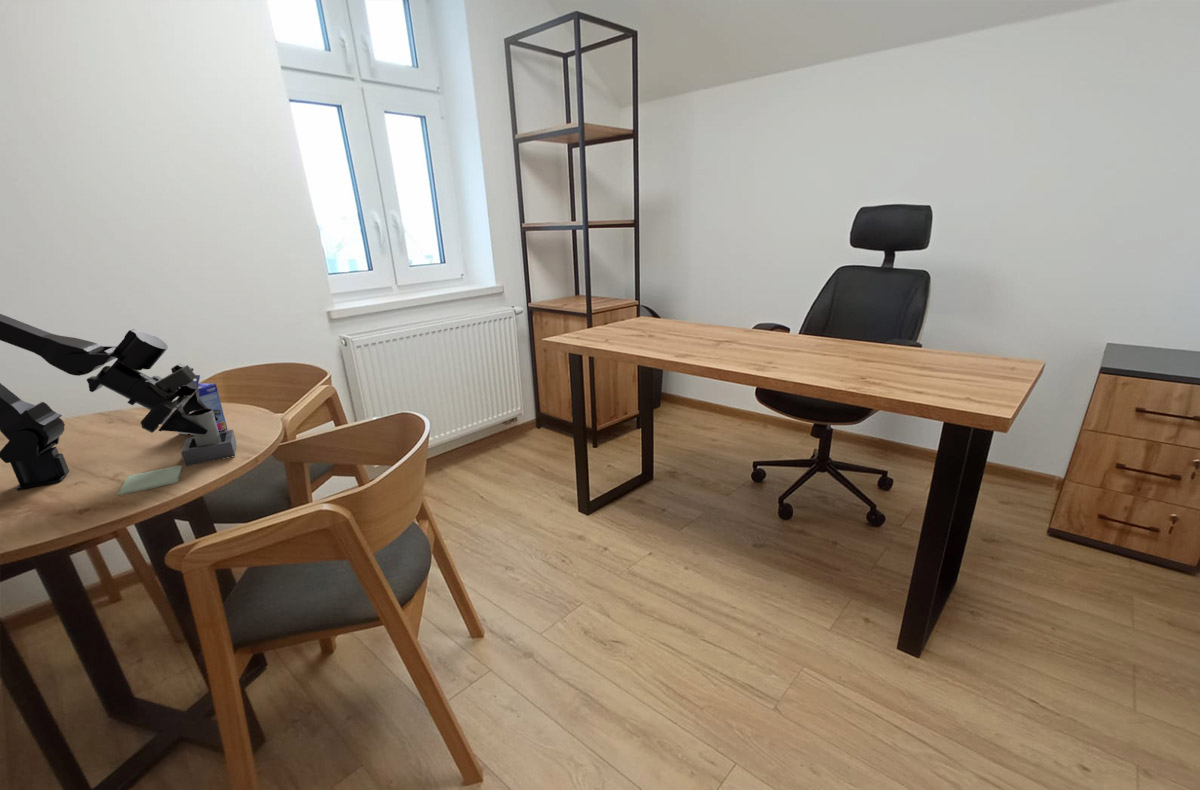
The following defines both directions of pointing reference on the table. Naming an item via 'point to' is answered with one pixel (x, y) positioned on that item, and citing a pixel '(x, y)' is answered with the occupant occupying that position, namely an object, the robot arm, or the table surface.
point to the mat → (151, 479)
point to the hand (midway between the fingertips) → (211, 426)
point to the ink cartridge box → (210, 402)
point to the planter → (208, 422)
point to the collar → (209, 449)
